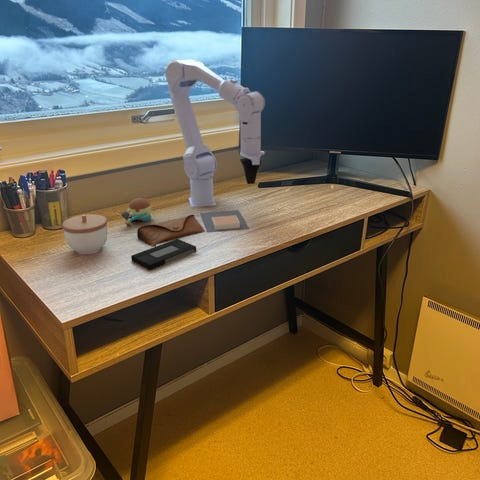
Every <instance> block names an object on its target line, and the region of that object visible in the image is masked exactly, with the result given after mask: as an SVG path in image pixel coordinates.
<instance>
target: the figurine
mask: <svg viewBox="0 0 480 480" xmlns="http://www.w3.org/2000/svg"><path fill="white" fill-rule="evenodd" d="M151 212H152V206H151V203H150V202H149V201H148V200H147V199H146V198H144V197H137V198H134V199H132V200H131V201H130V202H129V204H128V209H127V210H124V211H122V212H121V217H122V218H123V219H124V223H125V225H126V227H129V228H130V227H131V226H132V225H131V222H133V221H135V220H137V221H142V222H148V221H150V220H151V219H152V215H151Z"/></svg>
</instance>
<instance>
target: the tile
mask: <svg viewBox="0 0 480 480" xmlns="http://www.w3.org/2000/svg"><path fill="white" fill-rule="evenodd" d="M212 223H213V226H214V228H215V230H221V229H233V228H240V222H239V220H238V218H237V217H236V215H234V216H222V217H212Z"/></svg>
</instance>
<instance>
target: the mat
mask: <svg viewBox="0 0 480 480" xmlns="http://www.w3.org/2000/svg"><path fill="white" fill-rule="evenodd" d="M199 215H200V216H201V220H202V222H203V225H204V230H205V232H206V233H216V232H227V231H228V232H229V231H239V230H241V231H242V230H250V227H249V226H248V224H247V222H246V220H245V219H244V217H243V215H242V213H241V212H240V210H239V209H234V210H232V209H231V210H223V211H222V210H221V211H209V212H199ZM234 215H236V217H237V218H238V220H239V222H240V228H233V229H221V230H215V228H214V226H213V223H212V217H222V216H234Z"/></svg>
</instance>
